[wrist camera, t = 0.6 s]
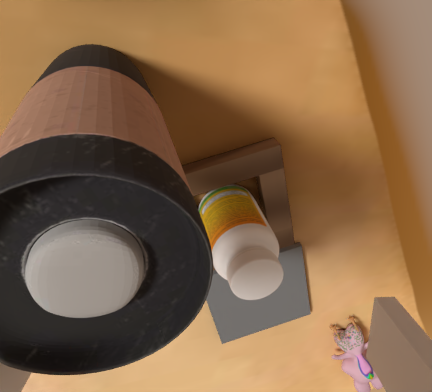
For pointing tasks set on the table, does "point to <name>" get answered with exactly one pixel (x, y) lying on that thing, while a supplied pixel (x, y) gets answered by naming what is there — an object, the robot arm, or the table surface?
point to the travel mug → (94, 222)
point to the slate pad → (261, 300)
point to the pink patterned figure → (355, 357)
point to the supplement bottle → (241, 242)
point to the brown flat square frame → (245, 169)
